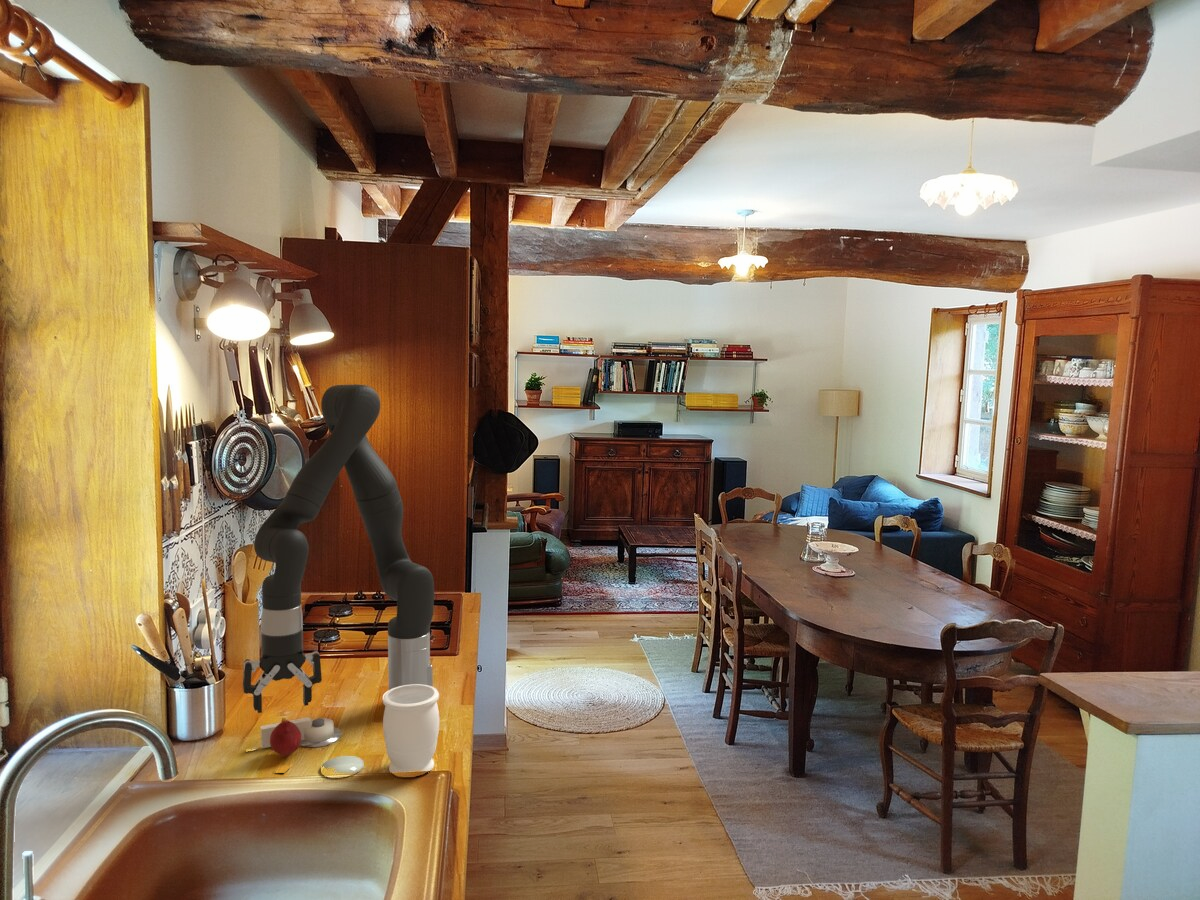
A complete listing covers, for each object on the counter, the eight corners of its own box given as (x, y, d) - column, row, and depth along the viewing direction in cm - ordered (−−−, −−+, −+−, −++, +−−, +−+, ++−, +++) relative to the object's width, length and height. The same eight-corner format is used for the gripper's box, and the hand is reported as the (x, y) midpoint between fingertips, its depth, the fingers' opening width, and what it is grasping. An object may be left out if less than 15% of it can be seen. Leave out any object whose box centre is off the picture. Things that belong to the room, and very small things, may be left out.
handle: (330, 726, 171) (330, 708, 170) (336, 738, 166) (335, 720, 165) (260, 740, 164) (259, 721, 164) (263, 753, 159) (262, 734, 159)
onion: (305, 749, 162) (304, 711, 161) (296, 763, 156) (295, 724, 155) (276, 749, 161) (275, 711, 161) (265, 763, 156) (264, 724, 155)
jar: (395, 788, 148) (394, 710, 146) (375, 764, 156) (374, 691, 154) (448, 771, 154) (448, 697, 152) (426, 749, 162) (425, 679, 161)
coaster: (358, 754, 160) (358, 752, 160) (367, 772, 153) (367, 770, 153) (317, 763, 156) (317, 761, 156) (324, 782, 149) (324, 780, 149)
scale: (336, 724, 173) (336, 722, 173) (352, 759, 158) (352, 757, 158) (243, 742, 164) (243, 740, 164) (251, 781, 149) (251, 779, 149)
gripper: (243, 638, 149) (245, 722, 151) (323, 629, 156) (323, 708, 158) (240, 626, 156) (242, 706, 157) (317, 617, 162) (317, 694, 164)
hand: (283, 707), depth 157 cm, fingers open, 8 cm apart
